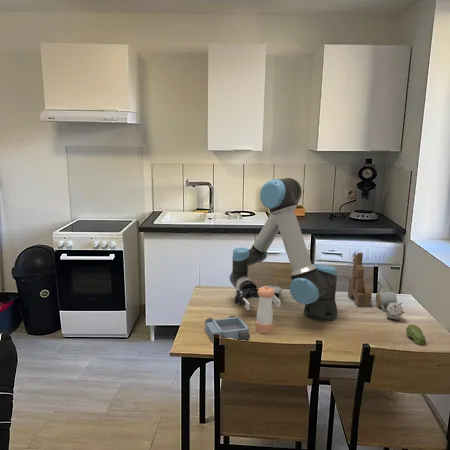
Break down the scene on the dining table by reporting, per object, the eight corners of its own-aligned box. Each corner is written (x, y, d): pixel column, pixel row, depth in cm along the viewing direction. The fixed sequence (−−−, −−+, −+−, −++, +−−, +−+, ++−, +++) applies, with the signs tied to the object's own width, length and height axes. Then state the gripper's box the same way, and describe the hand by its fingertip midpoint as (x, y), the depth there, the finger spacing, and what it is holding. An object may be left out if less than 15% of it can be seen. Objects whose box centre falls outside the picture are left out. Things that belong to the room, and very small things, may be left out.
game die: (395, 325, 196) (410, 309, 195) (395, 326, 188) (410, 309, 187) (379, 312, 200) (393, 295, 199) (378, 312, 192) (393, 295, 191)
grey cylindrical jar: (374, 303, 212) (375, 289, 210) (390, 304, 211) (392, 289, 210) (381, 312, 201) (383, 297, 199) (398, 313, 201) (400, 298, 199)
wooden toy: (371, 307, 207) (376, 257, 202) (357, 307, 207) (362, 256, 202) (359, 295, 222) (363, 248, 217) (346, 295, 222) (350, 248, 217)
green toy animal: (417, 322, 179) (431, 336, 169) (414, 332, 181) (427, 348, 171) (404, 322, 178) (417, 337, 169) (402, 333, 180) (414, 348, 171)
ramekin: (279, 294, 220) (279, 285, 219) (283, 303, 209) (283, 293, 208) (257, 294, 220) (257, 284, 219) (260, 303, 209) (260, 292, 208)
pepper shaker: (253, 331, 178) (255, 287, 174) (257, 324, 185) (260, 282, 181) (270, 334, 176) (273, 290, 172) (274, 327, 183) (277, 284, 179)
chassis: (237, 323, 186) (237, 314, 185) (250, 340, 171) (251, 331, 170) (203, 327, 181) (203, 318, 180) (214, 345, 166) (214, 335, 165)
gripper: (271, 293, 202) (291, 310, 182) (220, 297, 195) (235, 316, 175) (272, 277, 200) (292, 294, 181) (220, 282, 193) (235, 299, 173)
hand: (264, 305), depth 178 cm, fingers open, 13 cm apart
